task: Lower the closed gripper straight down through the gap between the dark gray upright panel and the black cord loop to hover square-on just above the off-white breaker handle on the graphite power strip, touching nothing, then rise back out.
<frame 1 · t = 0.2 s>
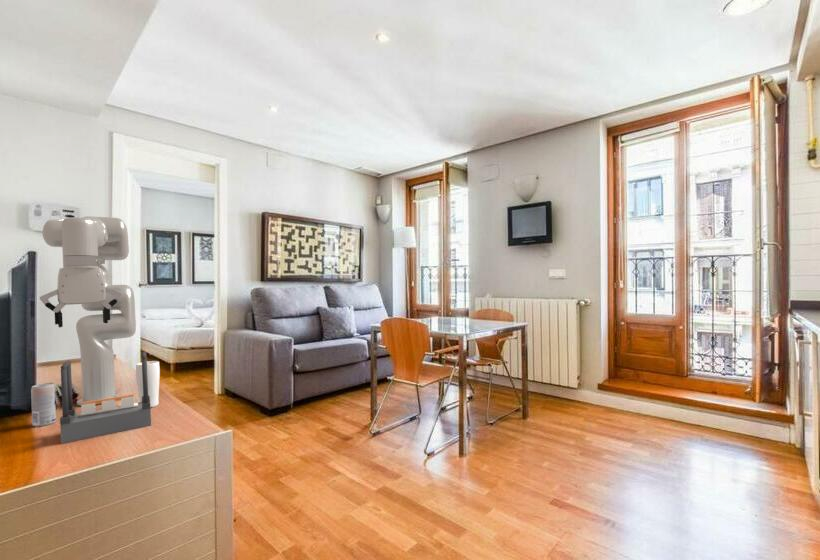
hand: (83, 324, 109), 31 cm above the table, tool pointing down, fingers open, 9 cm apart
white cylinder: (149, 407, 135), on the table
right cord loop: (145, 379, 119), point 13 cm above the table, hinge at 0.0°
dark gray upright panel: (66, 390, 109), point 13 cm above the table, hinge at 0.0°
energy drink: (44, 424, 121), on the table
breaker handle: (108, 404, 114), point 7 cm above the table, hinge at 0.0°
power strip: (109, 428, 114), on the table
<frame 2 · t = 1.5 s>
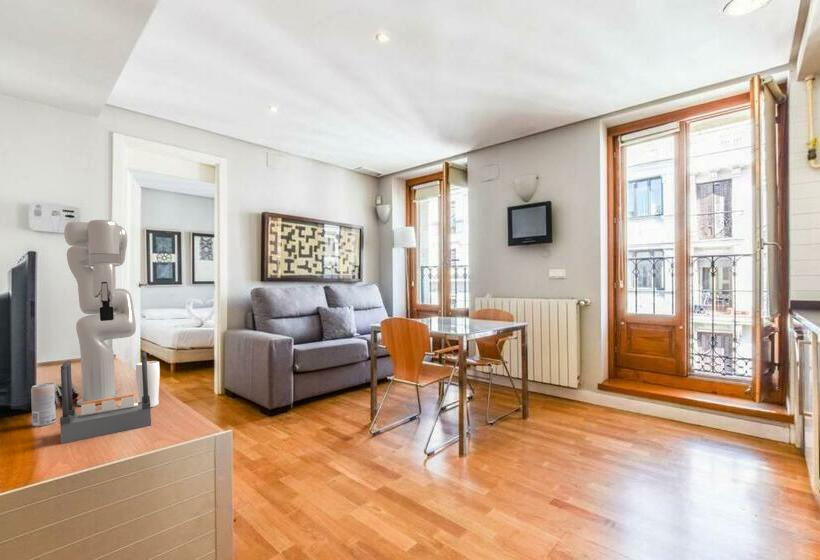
hand: (107, 320, 121), 31 cm above the table, tool pointing down, fingers closed
nothing on the table moved.
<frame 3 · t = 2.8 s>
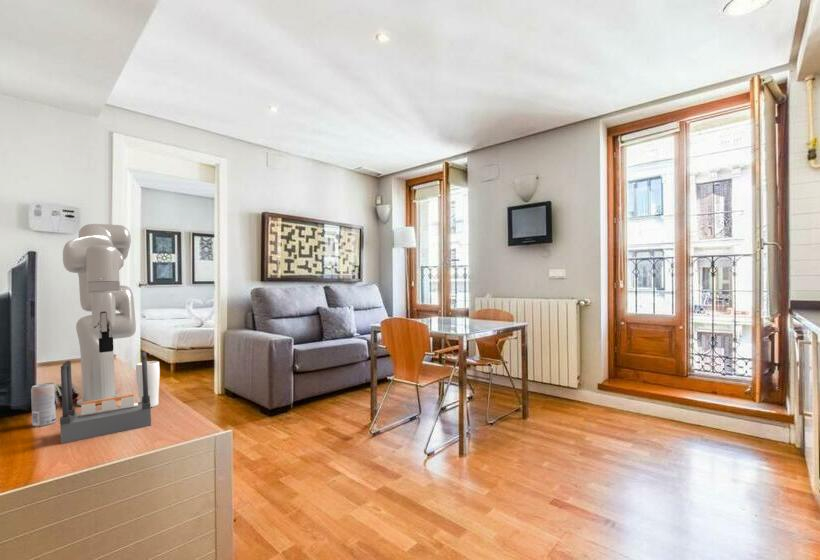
hand: (106, 351, 114), 23 cm above the table, tool pointing down, fingers closed
nothing on the table moved.
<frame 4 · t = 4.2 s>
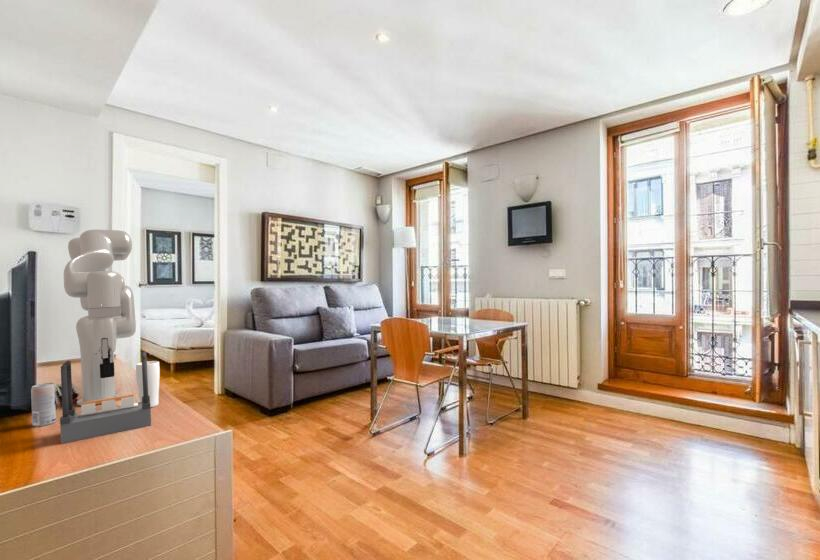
hand: (107, 376, 114), 15 cm above the table, tool pointing down, fingers closed
nothing on the table moved.
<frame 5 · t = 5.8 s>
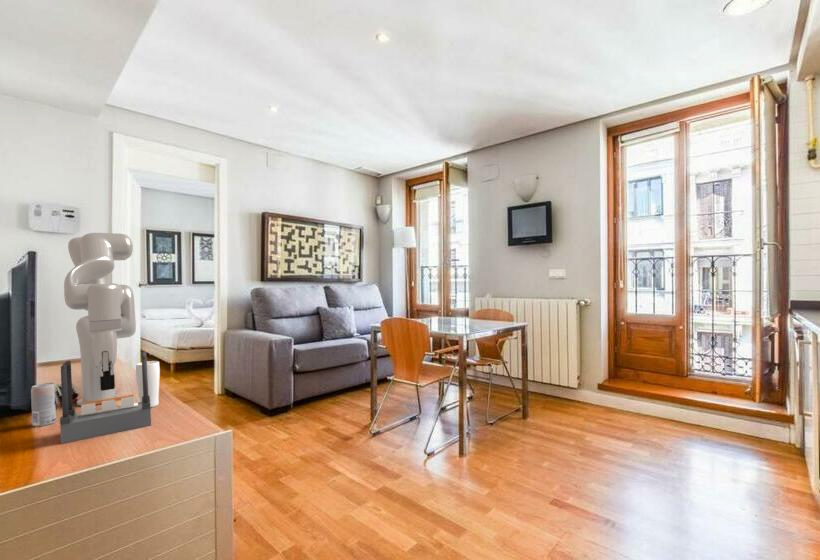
hand: (107, 389, 114), 12 cm above the table, tool pointing down, fingers closed
nothing on the table moved.
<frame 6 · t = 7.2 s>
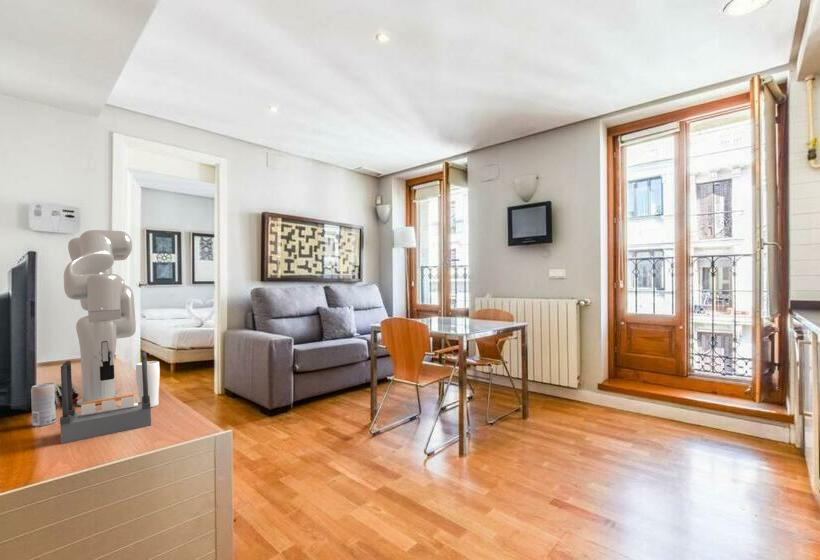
hand: (107, 379, 115), 14 cm above the table, tool pointing down, fingers closed
nothing on the table moved.
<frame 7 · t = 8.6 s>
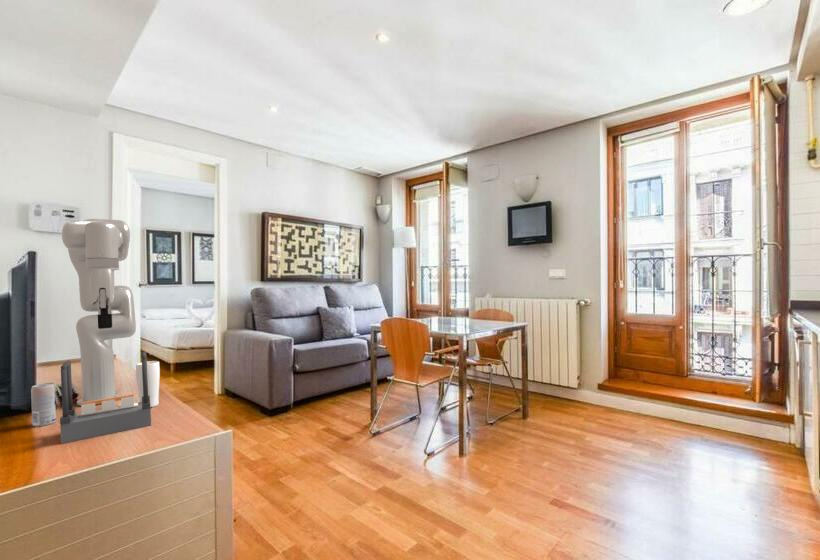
hand: (105, 328, 114), 29 cm above the table, tool pointing down, fingers closed
nothing on the table moved.
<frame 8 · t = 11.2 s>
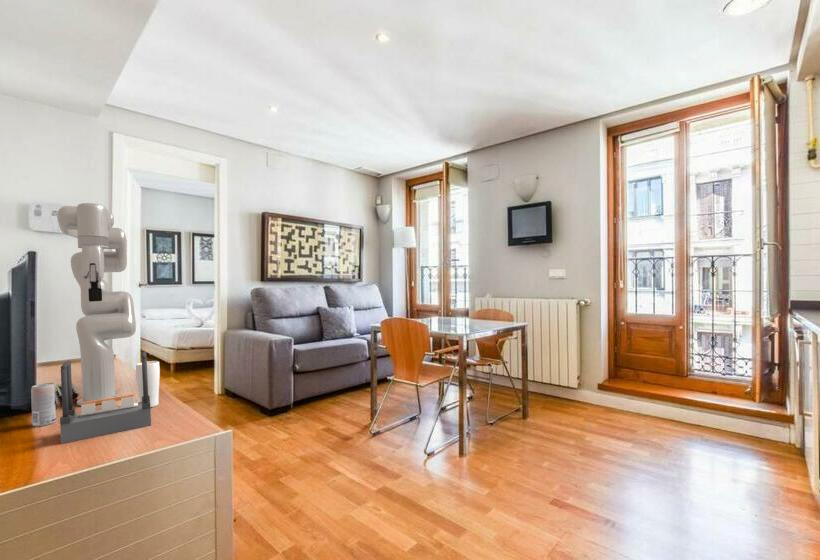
hand: (95, 301, 124), 37 cm above the table, tool pointing down, fingers closed
nothing on the table moved.
at the end: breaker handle at +0° (first picture: +0°); dark gray upright panel at +0° (first picture: +0°); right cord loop at +0° (first picture: +0°) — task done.
